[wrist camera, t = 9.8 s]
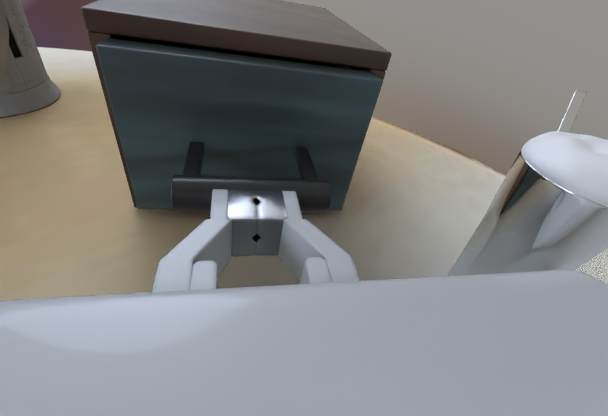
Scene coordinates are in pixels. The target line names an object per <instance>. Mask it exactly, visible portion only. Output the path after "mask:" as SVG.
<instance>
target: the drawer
mask: <svg viewBox="0 0 608 416" xmlns="http://www.w3.org/2000/svg"><path fill="white" fill-rule="evenodd" d="M135 40H136V42H134V41H126V40H119V39H111V38H105V39H104V40H102V41H101V42H100V43H98V44H97V45H96V50H97V54H98V58H99V61H100V65H101V69H102V73H103V77H104V81H105V84H106V88H107V92H108V96H109V100H110V103H111V107H112V111H113V115H114V119H115V122H116V126H117V130H118V134H119V138H120V141H121V145H122V149H123V153H124V157H125V160H126V164H127V168H128V172H129V176H130V180H131V183H132V187H133V191H134V195H135V199H136V202H137V206H138V208H139V209H173V211H174V212H211V202H212V191H213V189H226V190H250V191H295V192H296V194H297V198H298V202H299V206H300V210H301V212H308V213H326V212H328V210H341V209H342V207H343V204H344V200H345V197H346V194H347V191H348V188H349V185H350V182H351V179H352V176H353V173H354V170H355V166H356V163H357V160H358V157H359V154H360V151H361V148H362V145H363V142H364V139H365V136H366V132H367V129H368V126H369V123H370V120H371V117H372V114H373V111H374V108H375V105H376V101H377V98H378V95H379V92H380V89H381V86H382V83H383V80H382V79H381V78H380V77H378V76H377V75H376V74H375V73H374V72H366V71H359V70H351V66H346V65H338V64H331V63H323V62H316V61H308V60H301V59H293V58H285V57H278V56H270V55H263V54H255V53H248V52H240V51H232V50H225V49H217V48H210V47H202V46H195V45H187V44H179V43H172V42H164V41H157V40H149V39H142V38H136V39H135Z"/></svg>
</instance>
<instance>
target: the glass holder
mask: <svg viewBox="0 0 608 416" xmlns="http://www.w3.org/2000/svg"><path fill="white" fill-rule="evenodd" d="M59 96H60V90H59V88H58V87H57V86H56V85H55V83H53V82H52V81H51V80H50V78H49V76H48V75H47V73H46V70H45V67H44V65H43V62H42V59H41V57H40V54H39V51H38V49H37V46H36V44H35V41H34V38H33V36H32V34H31V30H30V28H29V25H28V23H27V20H26V17H25V15H24V12H23V9H22V6H21V4H20V1H19V0H0V117H6V116H12V115H18V114H23V113H27V112H31V111H34V110H38V109H41V108H43V107H46V106H48V105H50V104H52V103H53V102H55V101H56V100H57V99H58V98H59Z"/></svg>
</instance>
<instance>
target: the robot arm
mask: <svg viewBox="0 0 608 416" xmlns="http://www.w3.org/2000/svg"><path fill="white" fill-rule="evenodd" d="M254 255H278V257H279V258H280V260H281V261H282V262H283V263H284V264H285V266H286V267H287V268H288V269H289V271H290V272H291V273H292V274H293V275H294V277H295V278H296V279H297V280H298V281H299V283H300V284H292V285H274V286H256V287H237V288H219V289H218V280H217V278H218V276H219V275H220V273H221V272H222V271H223V269H224V268H225V266H226V265H227V264H228V262H229V261H230V259H231V257H236V256H254ZM0 416H608V285H607V284H605V283H604V282H602V281H600V280H598V279H596V278H594V277H592V276H590V275H588V274H586V273H583V272H581V271H577V270H552V271H534V272H515V273H497V274H478V275H460V276H441V277H423V278H404V279H386V280H368V281H360V278H359V275H358V273H357V270H356V267H355V265H354V262H353V260H352V257H351V255H350V254H349V253H347V252H346V251H345V250H344V249H342V248H341V247H340V246H339V245H338V244H336V243H335V242H334V241H333V240H331V239H330V238H329V237H328V236H327V235H325V234H324V233H323V232H322V231H320V230H319V229H318V228H317V227H316V226H314V225H313V224H312V223H311V222H309V221H308V220H307V219H303V217H302V213H301V210H300V206H299V202H298V198H297V194H296V192H295V191H250V190H226V189H213V191H212V202H211V213H210V219H205V220H204V221H203V222H202V223H201V224H200V225H199V226H198V227H197V228H195V229H194V230H193V231H192V232H191V233H190V234H189V235H188V236H187V237H185V238H184V239H183V240H182V241H181V242H180V243H179V244H178V245H177V246H175V247H174V248H173V249H172V250H171V251H170V252H169V253H168V254H167V255H165V256H164V257H163V258H162V259H161V260H160V261H159V264H158V268H157V272H156V276H155V280H154V284H153V288H152V292H145V293H126V294H108V295H89V296H71V297H52V298H34V299H15V300H0Z"/></svg>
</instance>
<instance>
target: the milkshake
mask: <svg viewBox="0 0 608 416" xmlns="http://www.w3.org/2000/svg"><path fill="white" fill-rule="evenodd" d="M586 94H587V92H585V91H580V90H576V91H575V93H574V95H573V97H572V100H571V102H570V104H569V107H568V109H567V111H566V113H565V116H564V118H563V120H562V123H561V125H560V127H559V129H558V131H552V132H548V133H544V134H542V135H539V136H537V137H535V138H532V139H531V140H529V141H528V142H526V143H525V145H524V146H523V148H522V150H521V151H520V153H519V155H518V157H517V158H516V160H515V162H514V163H513V165H512V167H511V169H510V170H509V172H508V174H507V176H506V177H505V179H504V181H503V183H502V184H501V186H500V188H499V190H498V191H497V193H496V195H495V197H494V199H493V201H492V203H491V204H490V206H489V208H488V210H487V212H486V214H485V215H484V217H483V219H482V220H481V222H480V223H479V225H478V227H477V228H476V230H475V232H474V233H473V235H472V236H471V238H470V240H469V241H468V243H467V244H466V246H465V248H464V249H463V251H462V252H461V254H460V256H459V257H458V259H457V260H456V262H455V264H454V265H453V267H452V268H451V270H450V272H449V273H448V275H447V276H460V275H478V274H497V273H515V272H534V271H552V270H576V269H577V268H579V267H580V266H582V265H583V264H584V263H586V262H587V261H589V260H590V259H592V258H593V257H595V256H596V255H598V254H600V253H601V252H603V251H604V250H606V249H607V248H608V140H605V139H600V138H598V137H595V136H590V135H579V134H573V133H569V132H570V130H571V127H572V125H573V123H574V121H575V119H576V117H577V114H578V112H579V110H580V108H581V105H582V103H583V101H584V99H585V96H586Z"/></svg>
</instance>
